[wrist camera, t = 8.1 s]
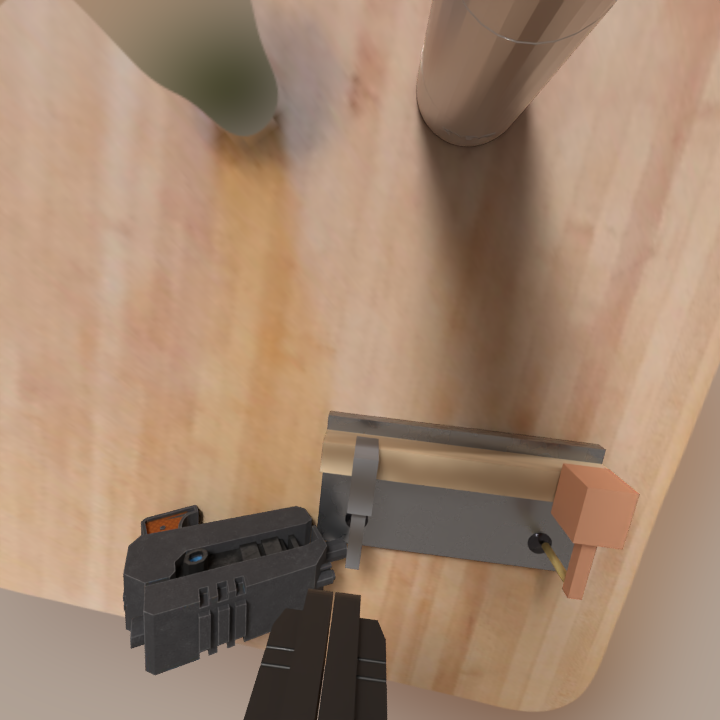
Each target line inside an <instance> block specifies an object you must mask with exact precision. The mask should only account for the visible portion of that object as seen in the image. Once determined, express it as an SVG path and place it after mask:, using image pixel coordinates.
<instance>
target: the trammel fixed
mask: <svg viewBox="0 0 720 720" xmlns="http://www.w3.org/2000/svg"><path fill="white" fill-rule="evenodd" d="M563 463H566V464H574V465H582V466H590V467H598V468H606V467H605V466H604V465H602V464H598V463H590V462H582V461H574V460H566V459H558V458H550V457H542V456H534V455H526V454H519V453H511V452H503V451H495V450H487V449H479V448H471V447H463V446H455V445H447V444H440V443H432V442H424V441H416V440H408V439H400V438H392V437H384V436H376V435H368V434H360V433H353V432H345V431H337V430H329V429H327V432H326V434H325V437H324V440H323V446H322V456H321V466H320V472H324V473H332V474H340V475H347V476H351V485H350V493H349V501H348V510H347V513H349V514H352V516H351V524H350V532H349V540H348V549H347V557H346V565H345V568H350V569H357V570H359V564H360V556H361V549H362V541H363V534H364V526H365V518H366V516H371V514H372V507H373V500H374V492H375V485H376V479H378V480H386V481H394V482H402V483H409V484H417V485H425V486H433V487H440V488H448V489H456V490H463V491H471V492H479V493H487V494H494V495H502V496H510V497H518V498H525V499H533V500H541V501H549V502H554V498H555V494H556V490H557V486H558V482H559V478H560V474H561V470H562V466H563ZM606 469H607V468H606Z"/></svg>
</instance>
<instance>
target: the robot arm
mask: <svg viewBox="0 0 720 720" xmlns="http://www.w3.org/2000/svg"><path fill="white" fill-rule="evenodd" d="M616 1H617V0H432V4H431V9H430V14H429V20H428V25H427V30H426V35H425V40H424V45H423V50H422V55H421V60H420V66H419V71H418V77H417V84H416V91H417V101H418V105H419V109H420V112H421V114H422V117H423V119H424V121H425V123H426V124H427V125H428V126H429V128H430V129H431V130H432V132H434V133H435V134H436V135H437V136H439V137H440V138H441V139H443V140H445V141H447V142H449V143H451V144H455V145H459V146H476V145H480V144H485V143H487V142H489V141H491V140H493V139H495V138H497V137H498V136H500V135H501V134H502V133H503V132H505V131H506V130H507V129H508V128H509V127H510V126H511V124H512V123H513V122H514V121H515V120H516V119H517V117H518V116H519V115H520V114H521V113H522V112H523V111H524V109H525V108H526V107H527V106H528V105H529V104H530V103H531V102H532V100H533V99H534V98H535V97H536V96H537V94H538V93H539V92H540V91H541V90H542V89H543V87H544V86H545V85H546V84H547V83H548V82H549V80H550V79H551V78H552V77H553V76H554V74H555V73H556V72H557V71H558V70H559V69H560V67H561V66H562V65H563V64H564V63H565V62H566V60H567V59H568V58H569V57H570V56H571V54H572V53H573V52H574V51H575V50H576V49H577V47H578V46H579V45H580V44H581V43H582V42H583V40H584V39H585V38H586V37H587V36H588V35H589V33H590V32H591V31H592V30H593V29H594V27H595V26H596V25H597V24H598V23H599V22H600V20H601V19H602V18H603V17H604V16H605V15H606V13H607V12H608V11H609V10H610V9H611V7H612V6H613V5H614V4H615V2H616ZM332 600H333V592H330V591H323V590H315V589H308V591H307V595H306V599H305V604H304V608H303V610H296V609H289V608H285V610H284V611H283V612H282V613H281V615H280V616H279V617H278V619H277V620H276V621H275V622H274V624H273V626H272V629H271V632H270V636H269V639H268V642H267V646H266V649H265V652H264V655H263V658H262V662H261V666H260V668H259V671H258V675H257V678H256V681H255V684H254V688H253V691H252V694H251V697H250V701H249V704H248V707H247V710H246V714H245V717H244V720H317V716H318V709H319V702H320V695H321V702H320V709H319V717H318V720H387V688H386V687H387V685H386V639H385V637H384V635H383V632H382V630H381V627H380V625H379V623H378V620H371V619H363V618H360V601H361V595H354V594H346V593H339V592H336V593H335V600H334V607H333V614H332V622H331V629H330V636H329V643H328V635H329V627H330V618H331V609H332ZM327 643H328V651H327ZM326 651H327V658H326ZM325 659H326V665H325ZM324 666H325V672H324ZM323 673H324V680H323ZM322 680H323V687H322ZM321 688H322V694H321Z"/></svg>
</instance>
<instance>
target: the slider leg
mask: <svg viewBox="0 0 720 720" xmlns="http://www.w3.org/2000/svg"><path fill="white" fill-rule="evenodd" d="M639 495H640V494H639V493H638V492H636V491H635V490H634V489H633V488H631V487H630V486H629V485H628V484H627V483H625V482H624V481H623V480H622V479H620V478H619V477H618V476H617V475H615V474H614V473H613V472H612V471H611V470H609V469H606V468H598V467H590V466H582V465H574V464H566V463H563V466H562V470H561V474H560V478H559V482H558V486H557V490H556V494H555V498H554V502H553V506H552V510H551V514H552V515H553V517H554V518H555V519H556V521H557V522H558V523H559V525H560V526H561V527H562V529H563V530H564V532H565V533H566V534H567V536H568V537H569V538H570V540H571V541H572V542H573V543H574V547H573V551H572V554H571V558H570V562H569V565H568V569H567V571H566V569H565V568H564V566H563V565H562V563H561V562H560V560H559V559H558V557H557V555H556V554H555V552H554V551H553V549H552V548H551V546H550V545H549V543H547V542H545V543H543V544H542V548H543V550H544V552H545V553H546V555H547V557H548V558H549V560H550V561H551V563H552V565H553V566H554V568H555V570H556V571H557V573H558V574H559V576H560V578H561V579H562V581H563V583H564V584H563V588H562V589H563V591H564V593H565V594H566V596H567V598H571V599H579V600H582V597H583V594H584V590H585V587H586V583H587V580H588V576H589V573H590V569H591V566H592V562H593V559H594V555H595V552H596V548H597V546H600V547H607V548H615V549H623V547H624V544H625V541H626V537H627V534H628V531H629V528H630V524H631V521H632V518H633V514H634V511H635V508H636V504H637V501H638V498H639Z"/></svg>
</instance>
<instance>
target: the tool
mask: <svg viewBox="0 0 720 720" xmlns="http://www.w3.org/2000/svg"><path fill="white" fill-rule="evenodd" d="M311 523H312V518H311V517H310V515H309V514H308V513H307V511H306V510H305V509H304V508H301V507H297V506H294V507H289V508H284V509H278V510H273V511H268V512H262V513H257V514H252V515H246V516H241V517H236V518H230V519H225V520H220V521H214V522H209V523H204V524H199V525H198V508H197V505H193V506H189V507H185V508H181V509H178V510H174V511H170V512H166V513H163V514H159V515H155V516H151V517H147V518H145V519H144V520H143V521H141V536H140V537H139V538H137V539H136V540H135V541H134V542H133V543H132V544H130V545H129V547H128V552H127V557H126V563H125V568H124V573H123V577H124V593H123V602H124V611H125V619H126V629H127V630H129V631H131V637H130V642H131V648H134V647H137V646H141V645H144V644H145V670H146V671H147V672H149V673H151V674H153V675H157V674H160V673H163V672H165V671H168V670H171V669H174V668H177V667H179V666H182V665H185V664H187V663H190V662H193V661H196V660H198V659H200V657H199V656H200V655H199V654H200V652H203V651H205V650H208V654H209V655H212V654H214V653H217V646H219V645H221V644H224V643H227V648H230V647H232V646H235V640H236V639H239V638H242V637H243V639H244V642H245V641H248V640H251V639H253V638H256V637H258V636H261V635H263V634H266V633H269V632H271V629H272V626H273V624H274V622H275V621H276V620H277V619H278V617H279V616H280V615H281V613H282V612H283V611H284V610H285V608H289V609H296V610H303V608H304V604H305V599H306V595H307V591H308V589H315V590H323V586H326V585H329V584H332V583H333V580H335V573H334V571H333V570H331V569H330V568H331V567H332V566H331V563H330V562H333V561H336V560H340V559H343V558H346V557H347V545H346V542H345V541H344V540H343V538H339V539H335V540H331V541H327V542H325V541H324V540H323V538H322V536H321V534H320V532H319V531H318V529H317V527H316V525H314V526H312V530H311ZM310 536H311V543H310Z"/></svg>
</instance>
